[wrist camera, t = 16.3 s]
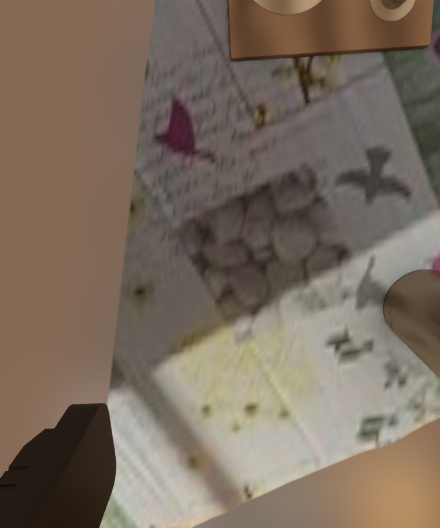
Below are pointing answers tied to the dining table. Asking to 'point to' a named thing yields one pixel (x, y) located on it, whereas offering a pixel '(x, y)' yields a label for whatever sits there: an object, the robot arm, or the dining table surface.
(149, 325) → the dining table surface
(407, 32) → the board
